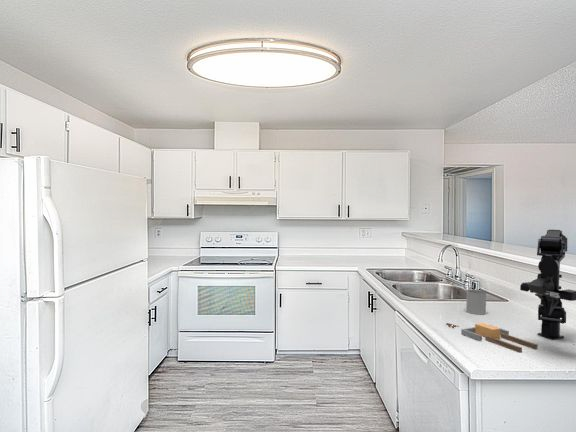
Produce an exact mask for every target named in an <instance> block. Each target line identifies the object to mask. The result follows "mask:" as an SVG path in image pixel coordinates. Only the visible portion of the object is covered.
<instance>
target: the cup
mask: <svg viewBox="0 0 576 432" xmlns="http://www.w3.org/2000/svg"><path fill="white" fill-rule="evenodd" d="M486 308H487V292H486V291H484V290H482V289H481V290H479V289H467V290H466V307H465V311H466V313H468V314H470V315H475V316H477V315H478V316H481V315H482V316H483V315H486V313H487V311H486V310H487V309H486Z"/></svg>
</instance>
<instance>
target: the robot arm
mask: <svg viewBox="0 0 576 432" xmlns="http://www.w3.org/2000/svg"><path fill="white" fill-rule="evenodd" d="M567 252H568V237H566V236H565V235H564V234H563V230H560V229H546V234H545V235H541V236H540V238H538V241H537V249H536V256H541V258H540V261H539V263H538V266H537V267H538V270H539V271H540V273H538V274H537V275H536V278H535V279H533V280H532V281H528V282H521V284H520V286H519V287H520V288H519V290H520V291H523V292H529V291H530V293H534V295H535V297H537V298H539V300H540V304H538V307H537V309H538V310H537V320H538V321H541V328H540V331H541V332H538V333H537V335H538V336H541V337H544V338H548V339H550V340H557V339H562V338H563V339H564V337H565V336H564V335H561V324H563V325H564V324H566V323H567V311H566V310H565V307H563V302H562V300H564V301H568V302H569V301H570V302H573V301H576V290H573V289H562V286H561V285H560V279H562V278H563V277H562V274H560V270H561V269H560V267H561V261H562V260H563V259H564V258H565V257H566V253H567Z"/></svg>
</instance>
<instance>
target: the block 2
mask: <svg viewBox="0 0 576 432" xmlns="http://www.w3.org/2000/svg"><path fill="white" fill-rule="evenodd" d="M497 327H498V326H495V327H494V325H492V326H486V327H484V337H483V338H485V336H490V337H493V338H496V339H499V340H501V337H500V336H501V334H500V328H501V327H498V328H497Z"/></svg>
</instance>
